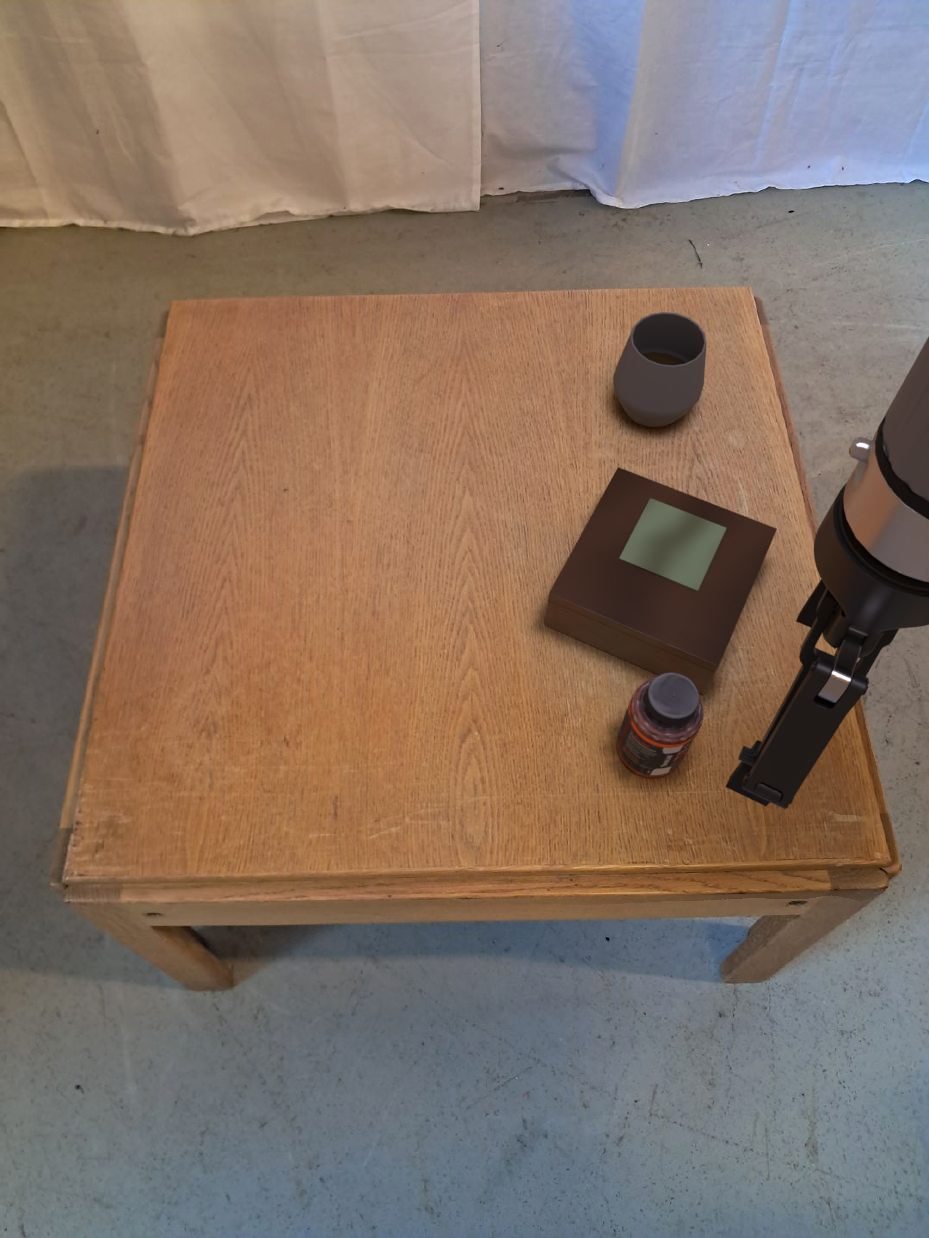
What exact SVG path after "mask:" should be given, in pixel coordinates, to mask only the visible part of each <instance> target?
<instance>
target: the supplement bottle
mask: <svg viewBox="0 0 929 1238" xmlns="http://www.w3.org/2000/svg"><path fill="white" fill-rule="evenodd" d="M704 714H705V713H704V706H703V702H702V700H701V698H700V693H698V690H697V688H696V686H695V685H694V683H693V682H692V681H691V680H690V679H688V678H687V677H685V676H683V675H680V674H678V673H664V674H662V675H657V676H656V677H652V678H649V679H647V680H644V682H642V683H641V684H640V685H639V686H638V687H637V688H636V689H635V690H634V692H633V693H632V695H631V698H630V701H629V703H628V706H627V709H626V712H625V714H624V717H623V720H622V722H621V725H620V728H619V730H618V734H617V739H616V746H617V752H618V756H619V758H620V759H621V761H622V762H623V764H624V765H625V766H626V767H627V768H628V769H629V770H630V771H632V772H633V773H635V774H637V775H639V776H641V777H646V778H661V777H664V776H667V775H669V774H671V773H672V772H674V771H675V770H676V769H677V767H678V766H679V765H680V764H681V762H682V761H683V759H684V758H685V756H686V755H687V753H688V751H689V749H690V747H691V746H692V744H693V742H694V740H695V738H696V736H697V735H698V733H699V731H700V729H701V727H702V725H703V721H704Z"/></svg>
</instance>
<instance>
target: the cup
mask: <svg viewBox="0 0 929 1238" xmlns="http://www.w3.org/2000/svg"><path fill="white" fill-rule="evenodd" d="M707 343H708V342H707V338H706V333H705V331H704V330H703V329H702V327H701V326H700V325H699V323H697V322H696V321H695V320H693V319H692V318H691V317H688V316H685V315H683V314H680V313H678V312H669V311H661V312H654V313H650V314H648V315H646V316H643V317H642V318H640V319H639V320H638V321H637V322H636V323H635V324H634V325H633V326H632V328H631V331H630V334H629V336H628V338H627V340H626V343H625V345H624V347H623V350H622V352H621V354H620V357H619V359H618V361H617V364H616V366H615V370H614V373H613V375H612V381H613V390H614V394H615V396H616V399H617V400H618V401H619V403H620V405H621V407H622V408H623V410H624V412H625V413H626V415H627V417H628V418H630V419H631V420H632V421H634V422H635V423H637V424H640V425H641V426H643V427H651V428H659V427H661V428H662V427H666V426H668V425H671V424H672V423H674V422H676V421H677V420H679V419H681V418H682V417H683V416H685V415H686V414H688V413H689V412H690V411H691V410H692V409H693V408H694V406H695V405H696V404H697V403H698V402H699V400H700V399H701V396H702V393H703V389H704V386H705V385H704V384H705V372H706V358H707Z"/></svg>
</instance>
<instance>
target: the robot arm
mask: <svg viewBox="0 0 929 1238" xmlns="http://www.w3.org/2000/svg"><path fill="white" fill-rule="evenodd" d="M848 454H849V456H850V458H852V459H854V460H857V463H856V465H855V467H854V469H853V470H852V472H851V474H850V476H849V477H848V480H847V482H845V483H844V485H843V486H842V487H841V488H840V490H839V492H838V493H837V495H836V497H835V498H834V500H833V502H832V503H831V506H830V507H829V509H828V510H827V512H826V513H825V516H823V517H824V518H823V519H822V521H821V522H820V524H819V526H818V528H817V530H816V534H815V536H814V540H813V541H814V542H813V558H814V563H815V567H816V570H817V572H818V575H819V577H820V580H819V582H818V583H817V585H816V586H815V588H814V589H813V591H812V593H811V594H810V596H809V597H808V599H807V600H806V602H805V603H804V605H803V607H802V608H801V609H800V611H799V613H798V615H797V617H796V620H795V622H796V623H799V624H801V625H803V626H806V627H808V628H810V629H809V630H808V633H807V634H806V637H805V638H804V639H803V642H802V644H801V645H800V649H799V653H798V659H799V662H800V664H801V667H800V668H799V670H798V672H797V674H796V675H795V678H794V680H793V682H792V683H791V685H790V687H789V689H788V691H787V693H786V694H785V697H784V699H783V700H782V702H781V704H780V705H779V708H778V710H777V712H776V713H775V715H774V717H773V719H772V721H771V723H770V724H769V727H768V728H767V731H766V733H765V734H764V736H763V738H762V740H759V739H756V741H755V742H754V743H753V745H752V746H751V747H748V746H746V745H742V748H741V750H740V752H739V755H738V757H737V760H739V761H740V762H739V764H738V765H737V766H736V767H735V769H734V770H733V772H732V773H731V774H730V775H729V776H728V777H729V778H728V779H727V782H726V785H725V788H727V789H729V790H731V791H733V792H735V793H738V794H739V795H741V796H743V797H745V798H747V799H749V800H752V801H754V802H756V803H758V804H759V805H762V806H764V807H768V806H769V804H770V803H771V804H773V805H775V806H777V807H779V808H781V809H783V810H786V809H788V808H789V806H791V805H792V804H793V802H794V799H795V796H796V794H797V793H798V791H799V790H800V788H801V786H802V785H803V783H804V782H805V780H806V779H807V777H808V775H810V773H811V771H812V769H814V766H815V765H816V763H817V762H818V761H819V758H820V757H821V755H822V754H823V752H824V751H825V749H826V748H827V746H828V744H829V743H830V741H831V740H832V738H833V737H834V736H835V734H836V733H837V731H838V729H839V728H840V726H841V724H842V722H843V721H844V720H845V718H846V716H847V715H848V714H849V713H850V712H851V710H852V709H853V708H854V706H855V705H856V704H857V703H858V701H859V700H860V699H861V697H862V696H865V695H866V693H867V692H868V689H869V684H870V681H869V680H870V679H869V677H867V675H868V674H869V672H870V670H871V668H872V667H873V665H874V663H876V662H875V661H876V660H877V658H878V656H879V655H880V652H881V651H882V650H883V648H885V647H887V646H890V645H891V643H892V642H893V640H894V639H895V637H896V636H897V634H898V632H899V630H901V629H910V628H921V627H925V626H929V336H928V337H927V338H926V340H925V342H924V344H923V345H922V348H921V350H920V351H919V353H918V355H917V356H916V358H915V360H914V362H913V364H912V366H911V367H910V369H909V371H908V373H907V375H906V376H905V378H904V380H903V382H902V384H901V385H900V387H899V389H898V391H897V393H896V394H895V396H894V398H893V399H892V402H891V403H890V405H889V407H888V409H887V411H886V412H885V415H884V416H883V418H882V420H881V421H880V423H879V425H878V427H877V430H876V431H875V433H874V435H873V438H872V439H870V438H867V437H862V436H858V437H856V438H854V439H853V441H852V443H851V444H850V446H849V447H848ZM821 636H822V638H823V639H824V641H825V642H826V643H827V644H828V645H829V646H830V647H831V648H833V649H835V653H834V655H833V654H831V653H829V652H826V651H824V650H822V649H819V648H817V647H816V646H817V643H818V642H819V640H820V638H821ZM858 659H859V660H858Z"/></svg>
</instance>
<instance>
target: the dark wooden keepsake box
mask: <svg viewBox="0 0 929 1238" xmlns="http://www.w3.org/2000/svg"><path fill="white" fill-rule="evenodd" d="M777 530H778V528H776V527H774V526H771V525H769V524H766V523H763V522H761V521H758V520H756V519H754V518H751V517H749V516H745V515H743V514H741V513H738V512H735V511H732V510H729V509H727V508H725V507H722V506H720V505H717V504H714V503H712V502H710V501H707V500H705V499H701V498H699V497H696V496H694V495H691V494H689V493H686V492H684V491H681V490H679V489H676V488H674V487H671V486H668V485H666V484H663V483H661V482H658V481H655V480H652V479H651V478H647V477H645V476H643V475H640V474H637V473H635V472H632V471H630V470H627V469H624V468H622V467H620V466H618V467H617V468H616V470H615V472H614V473H613V475H612V477H611V479H610V480H609V482H608V484H607V486H606V488H605V490H604V492H603V494H602V495H601V497H600V499H599V500H598V502H597V504H596V506H595V508H594V510H593V512H592V514H591V515H590V517H589V519H588V521H587V523H586V525H585V526H584V528H583V530H582V532H581V534H580V535H579V538H577V541H576V542H575V544H574V546H573V548H572V550H571V551H570V554H569V556H568V557H567V559H566V561H565V563H564V565H563V567H562V568H561V570H560V571H559V574H558V576H557V577H556V579H555V581H554V583H553V584H552V586H551V589H550V590H549V592H548V596H547V604H546V611H545V619H544V626H545V627H548V628H550V629H553V630H555V631H557V632H559V633H562V634H564V635H566V636H568V637H571V638H573V639H576V640H577V641H580V642H582V643H584V644H587V645H589V646H591V647H594V648H596V649H598V650H601V651H603V652H604V653H607V654H609V655H611V656H614V657H615V658H619V659H621V660H623V661H625V662H628V663H630V664H632V665H634V666H637V667H639V668H642V669H643V670H646V671H648V672H650V673H652V674H655V675H657V676H659V675H662V674H664V673H678V674H680V675H683V676H685V677H687V678H688V679H690V680H691V681H692V682H693V683H694V685H695V686H696V688H697V690H698V693H699V695H705V693H706V691H707V689H708V687H709V685H710V683H711V682H712V680H713V678H714V676H715V674H716V672H717V670H718V668H719V667H720V665H721V662H722V659H723V657H724V655H725V652H726V650H727V648H728V645H729V643H730V641H731V638H732V636H733V633H734V632H735V629H736V627H737V624H738V621H739V620H740V617H741V615H742V612H743V610H744V607H745V606H746V603H747V601H748V598H749V596H750V594H751V592H752V589H753V587H754V585H755V582H756V580H757V577H758V575H759V573H760V570H761V568H762V565H763V563H764V561H765V558H766V556H767V554H768V551H769V549H770V547H771V544H772V542H773V540H774V537H775V535H776V532H777Z"/></svg>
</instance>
